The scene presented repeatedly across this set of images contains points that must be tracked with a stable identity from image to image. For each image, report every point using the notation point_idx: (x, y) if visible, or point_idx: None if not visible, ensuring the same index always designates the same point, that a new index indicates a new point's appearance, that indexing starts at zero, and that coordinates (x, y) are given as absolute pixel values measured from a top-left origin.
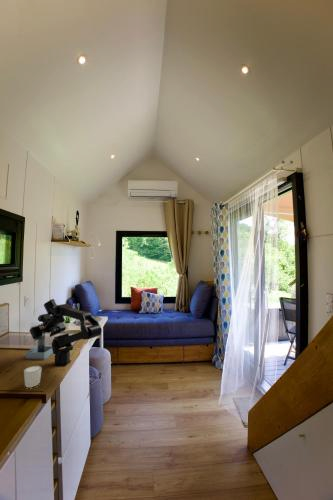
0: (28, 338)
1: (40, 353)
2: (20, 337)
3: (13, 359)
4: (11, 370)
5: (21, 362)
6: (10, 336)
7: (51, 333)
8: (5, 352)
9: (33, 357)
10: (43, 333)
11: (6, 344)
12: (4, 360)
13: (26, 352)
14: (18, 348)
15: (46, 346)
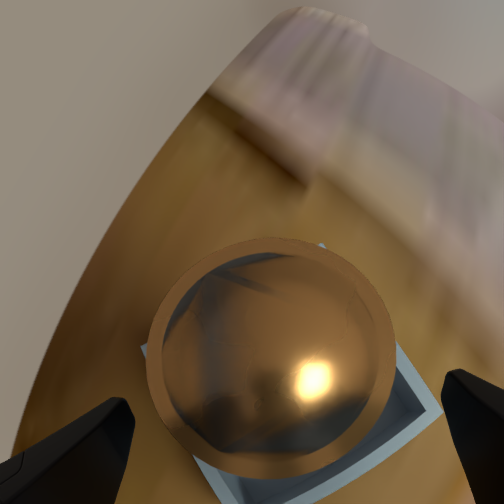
0: (351, 50)
1: (220, 496)
2: (325, 32)
3: (116, 297)
4: None
5: None
6: (297, 16)
7: (484, 430)
8: (168, 144)
9: None
10: (274, 471)
11: (239, 61)
12: (85, 268)
13: (144, 355)
14: (249, 125)
15: None
